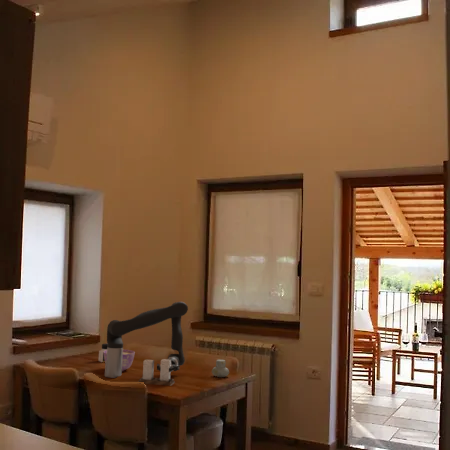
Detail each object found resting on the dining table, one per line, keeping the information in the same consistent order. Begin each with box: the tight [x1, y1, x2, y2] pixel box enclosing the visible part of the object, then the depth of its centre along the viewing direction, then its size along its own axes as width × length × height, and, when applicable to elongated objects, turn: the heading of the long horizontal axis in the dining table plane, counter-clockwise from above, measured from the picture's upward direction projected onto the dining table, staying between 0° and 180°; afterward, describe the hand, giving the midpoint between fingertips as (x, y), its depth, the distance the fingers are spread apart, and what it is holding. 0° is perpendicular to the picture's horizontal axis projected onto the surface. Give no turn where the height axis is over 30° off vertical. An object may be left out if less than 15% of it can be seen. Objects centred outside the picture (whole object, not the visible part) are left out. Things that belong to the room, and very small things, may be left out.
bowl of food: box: [103, 349, 136, 372], centre depth 350 cm, size 20×20×12 cm
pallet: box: [138, 376, 176, 386], centre depth 315 cm, size 20×11×3 cm, turn 84°
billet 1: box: [142, 359, 155, 381], centre depth 316 cm, size 5×5×12 cm
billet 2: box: [159, 358, 171, 382], centre depth 315 cm, size 5×5×12 cm
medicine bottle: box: [98, 343, 108, 363], centre depth 378 cm, size 7×7×12 cm
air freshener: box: [211, 359, 230, 378], centre depth 346 cm, size 11×8×10 cm
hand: (164, 369), depth 313 cm, fingers closed on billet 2, 5 cm apart
